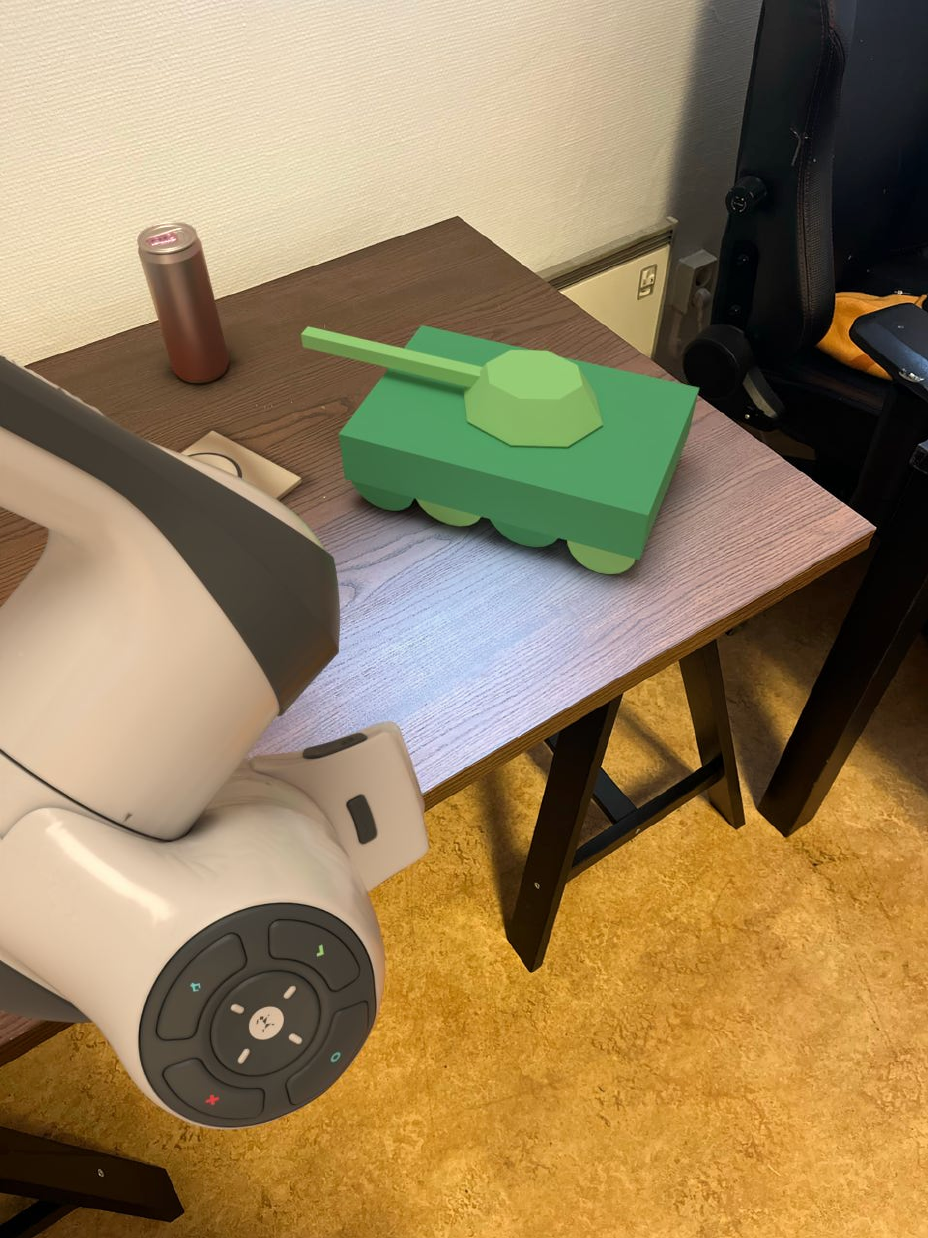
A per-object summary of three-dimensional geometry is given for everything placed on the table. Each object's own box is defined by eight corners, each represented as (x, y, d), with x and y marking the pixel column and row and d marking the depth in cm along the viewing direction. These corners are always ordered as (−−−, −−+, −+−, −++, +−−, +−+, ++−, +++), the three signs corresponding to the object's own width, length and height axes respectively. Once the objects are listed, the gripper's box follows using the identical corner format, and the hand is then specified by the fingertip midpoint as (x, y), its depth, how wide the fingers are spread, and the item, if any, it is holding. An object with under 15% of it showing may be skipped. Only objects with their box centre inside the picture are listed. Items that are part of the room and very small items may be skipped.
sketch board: (176, 584, 81) (173, 578, 81) (85, 526, 86) (83, 520, 85) (302, 482, 89) (301, 476, 89) (213, 434, 94) (212, 428, 93)
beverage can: (168, 361, 102) (128, 228, 90) (221, 347, 103) (189, 215, 92) (181, 391, 98) (142, 258, 87) (237, 376, 100) (205, 243, 88)
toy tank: (345, 273, 90) (707, 351, 81) (357, 380, 99) (683, 461, 91) (251, 377, 80) (655, 479, 71) (274, 486, 89) (633, 588, 80)
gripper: (22, 1027, 40) (62, 915, 53) (461, 840, 45) (398, 780, 58) (-33, 892, 39) (21, 812, 52) (421, 717, 44) (366, 685, 58)
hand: (223, 794), depth 55 cm, fingers open, 8 cm apart
